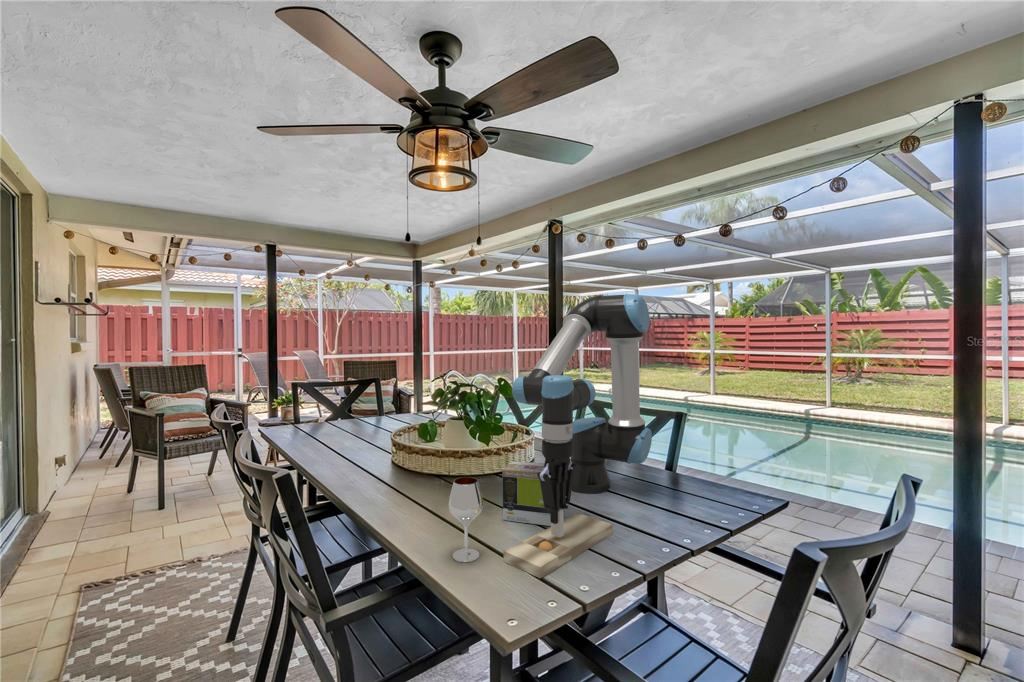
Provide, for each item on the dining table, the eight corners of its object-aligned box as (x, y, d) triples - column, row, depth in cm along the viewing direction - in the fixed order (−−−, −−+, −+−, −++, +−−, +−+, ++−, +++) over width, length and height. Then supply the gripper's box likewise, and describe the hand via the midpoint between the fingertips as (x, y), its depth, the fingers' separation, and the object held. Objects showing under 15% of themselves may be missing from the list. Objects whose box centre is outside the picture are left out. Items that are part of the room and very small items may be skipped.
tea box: (561, 514, 137) (562, 463, 137) (553, 528, 128) (553, 474, 127) (513, 507, 142) (513, 459, 142) (501, 520, 133) (501, 468, 132)
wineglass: (449, 548, 116) (449, 475, 116) (482, 547, 117) (482, 475, 116) (448, 565, 108) (447, 487, 107) (483, 563, 109) (483, 486, 108)
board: (503, 561, 110) (503, 550, 110) (577, 522, 132) (577, 513, 132) (540, 578, 102) (540, 567, 102) (612, 533, 124) (612, 524, 124)
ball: (538, 537, 113) (545, 541, 115) (533, 552, 111) (541, 556, 113) (549, 542, 110) (557, 545, 112) (545, 557, 109) (552, 560, 111)
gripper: (553, 447, 108) (553, 549, 108) (585, 437, 117) (585, 530, 118) (528, 441, 113) (528, 539, 113) (561, 432, 122) (561, 522, 123)
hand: (557, 534), depth 116 cm, fingers closed
